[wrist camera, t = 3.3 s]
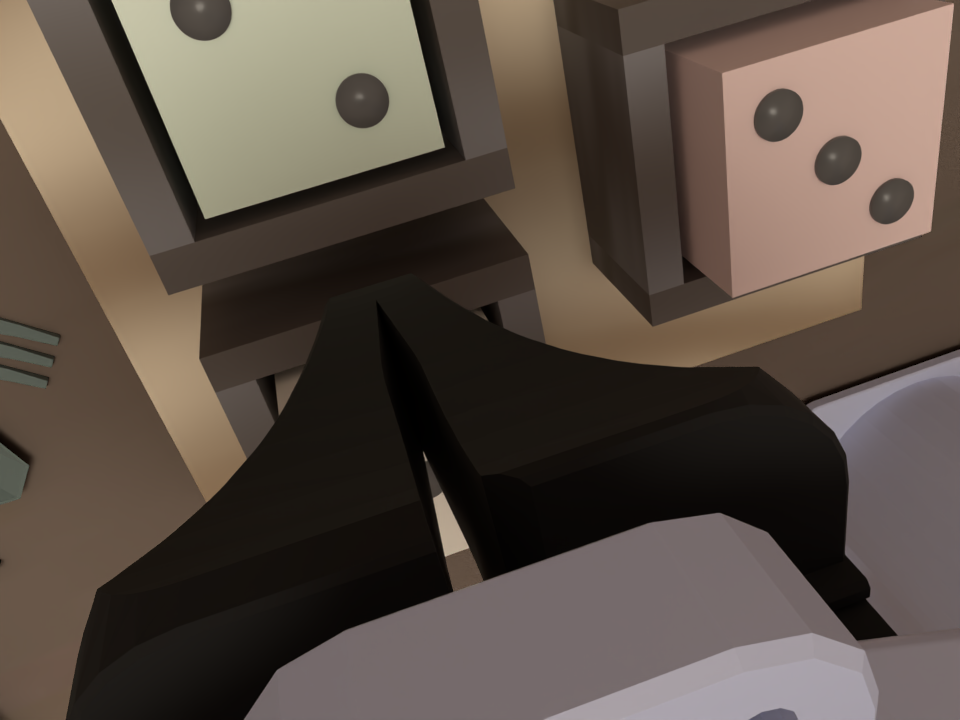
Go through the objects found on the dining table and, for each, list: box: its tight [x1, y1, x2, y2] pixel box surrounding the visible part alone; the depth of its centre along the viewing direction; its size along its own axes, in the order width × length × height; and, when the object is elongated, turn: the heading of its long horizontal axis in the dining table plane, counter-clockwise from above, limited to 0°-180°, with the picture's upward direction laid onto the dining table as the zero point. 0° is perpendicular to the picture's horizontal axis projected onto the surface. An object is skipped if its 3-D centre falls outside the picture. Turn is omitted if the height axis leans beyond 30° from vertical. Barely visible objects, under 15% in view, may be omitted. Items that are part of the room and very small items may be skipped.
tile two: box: [112, 0, 445, 219], centre depth 15 cm, size 4×4×3 cm
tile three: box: [664, 0, 954, 298], centre depth 16 cm, size 4×4×3 cm
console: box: [0, 0, 945, 502], centre depth 18 cm, size 15×19×4 cm
